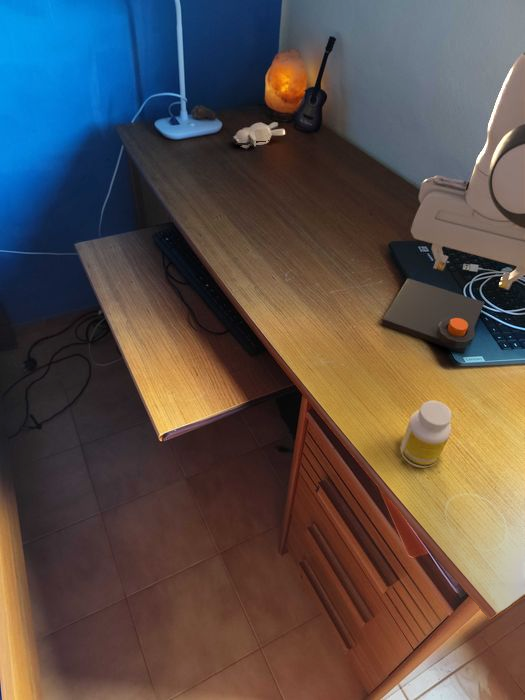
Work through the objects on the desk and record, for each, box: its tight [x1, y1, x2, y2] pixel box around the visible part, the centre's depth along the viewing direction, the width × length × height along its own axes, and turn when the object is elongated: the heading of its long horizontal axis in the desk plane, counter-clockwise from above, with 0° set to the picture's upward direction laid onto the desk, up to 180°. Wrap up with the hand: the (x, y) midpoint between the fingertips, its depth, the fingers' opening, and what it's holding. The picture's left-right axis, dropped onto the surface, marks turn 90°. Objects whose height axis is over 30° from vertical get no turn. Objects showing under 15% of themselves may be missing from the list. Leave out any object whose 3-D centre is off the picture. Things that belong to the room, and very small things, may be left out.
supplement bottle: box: [400, 400, 453, 469], centre depth 64 cm, size 5×5×10 cm
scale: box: [381, 277, 486, 354], centre depth 86 cm, size 16×15×3 cm
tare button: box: [447, 318, 468, 337], centre depth 80 cm, size 3×3×2 cm
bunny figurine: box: [233, 121, 286, 149], centre depth 142 cm, size 10×5×15 cm
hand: (470, 276), depth 69 cm, fingers open, 8 cm apart
